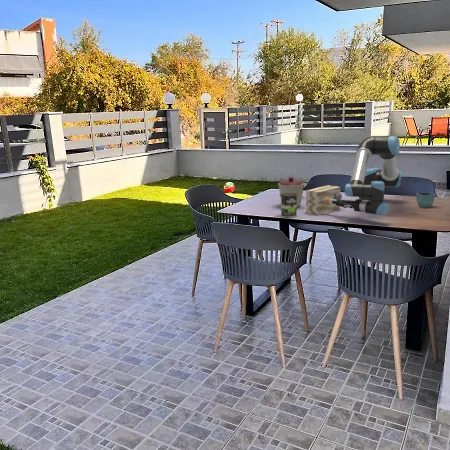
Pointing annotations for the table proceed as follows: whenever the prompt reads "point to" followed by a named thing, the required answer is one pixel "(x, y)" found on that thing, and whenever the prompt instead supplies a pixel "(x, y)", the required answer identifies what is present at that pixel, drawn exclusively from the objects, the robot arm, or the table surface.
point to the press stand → (315, 197)
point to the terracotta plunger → (325, 200)
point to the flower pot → (425, 199)
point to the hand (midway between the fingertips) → (329, 201)
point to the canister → (292, 188)
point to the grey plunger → (338, 196)
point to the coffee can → (288, 205)
